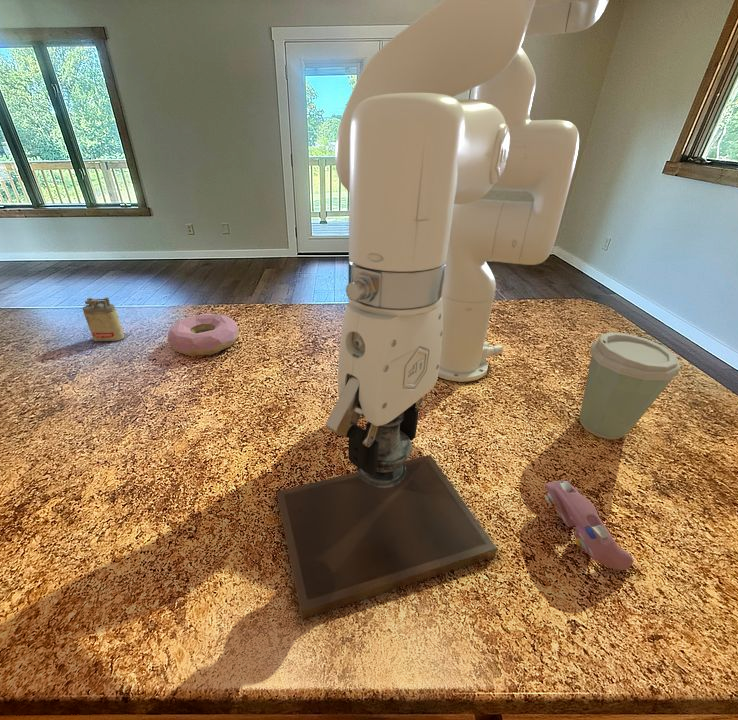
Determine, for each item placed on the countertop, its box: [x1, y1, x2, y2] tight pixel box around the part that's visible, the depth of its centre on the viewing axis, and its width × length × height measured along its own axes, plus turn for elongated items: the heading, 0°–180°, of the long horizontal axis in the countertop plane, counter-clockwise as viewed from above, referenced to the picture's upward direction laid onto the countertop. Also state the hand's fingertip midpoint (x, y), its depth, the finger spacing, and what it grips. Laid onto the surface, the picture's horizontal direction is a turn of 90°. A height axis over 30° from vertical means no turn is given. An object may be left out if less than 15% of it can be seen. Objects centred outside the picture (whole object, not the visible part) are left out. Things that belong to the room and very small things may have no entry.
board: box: [276, 454, 498, 620], centre depth 45 cm, size 22×15×2 cm
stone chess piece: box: [356, 413, 413, 488], centre depth 38 cm, size 6×6×12 cm
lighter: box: [82, 297, 126, 342], centre depth 88 cm, size 7×4×10 cm, turn 91°
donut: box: [166, 312, 239, 357], centre depth 86 cm, size 16×15×5 cm
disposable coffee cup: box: [578, 331, 681, 440], centre depth 57 cm, size 11×11×15 cm
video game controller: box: [544, 480, 634, 571], centre depth 43 cm, size 10×5×7 cm, turn 5°
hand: (382, 448), depth 39 cm, fingers closed on stone chess piece, 5 cm apart
